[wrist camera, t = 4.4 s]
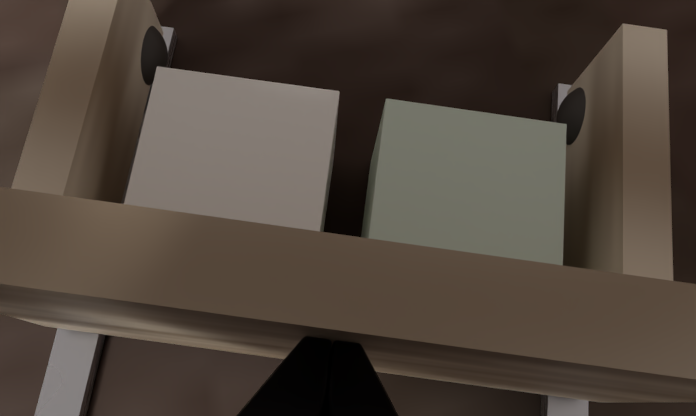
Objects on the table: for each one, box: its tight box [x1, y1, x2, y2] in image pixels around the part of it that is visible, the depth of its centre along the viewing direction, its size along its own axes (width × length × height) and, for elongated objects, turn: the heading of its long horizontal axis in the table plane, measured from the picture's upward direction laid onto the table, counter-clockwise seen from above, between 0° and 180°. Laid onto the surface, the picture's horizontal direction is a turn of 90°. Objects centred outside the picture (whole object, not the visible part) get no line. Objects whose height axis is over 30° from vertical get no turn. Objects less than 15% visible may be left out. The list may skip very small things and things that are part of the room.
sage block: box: [361, 98, 567, 265], centre depth 15 cm, size 4×4×4 cm
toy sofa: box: [0, 0, 696, 403], centre depth 13 cm, size 8×14×8 cm, turn 83°
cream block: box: [124, 66, 340, 232], centre depth 15 cm, size 4×4×4 cm
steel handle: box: [34, 26, 589, 416], centre depth 16 cm, size 16×13×1 cm
